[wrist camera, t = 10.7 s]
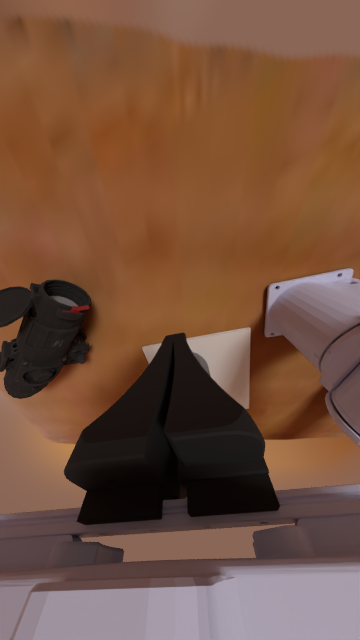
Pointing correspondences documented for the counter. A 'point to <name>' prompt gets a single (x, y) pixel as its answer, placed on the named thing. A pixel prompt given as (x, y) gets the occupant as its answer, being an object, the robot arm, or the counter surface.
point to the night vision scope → (42, 334)
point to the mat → (222, 360)
